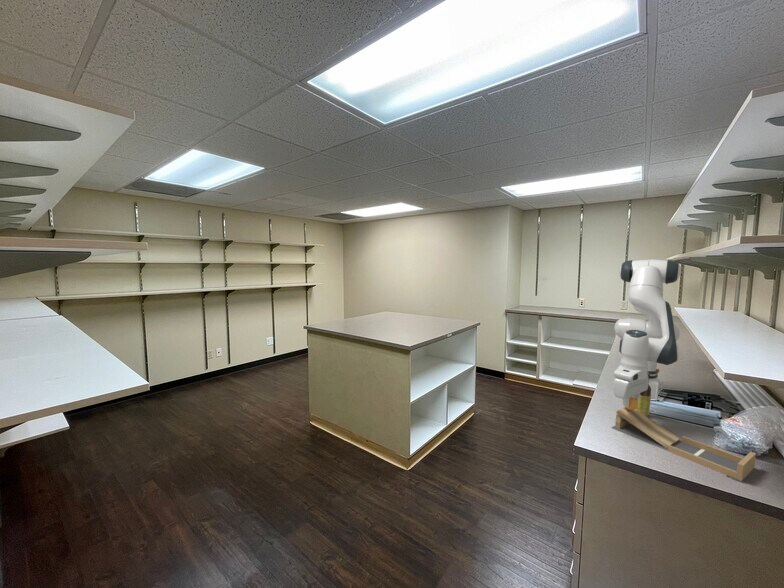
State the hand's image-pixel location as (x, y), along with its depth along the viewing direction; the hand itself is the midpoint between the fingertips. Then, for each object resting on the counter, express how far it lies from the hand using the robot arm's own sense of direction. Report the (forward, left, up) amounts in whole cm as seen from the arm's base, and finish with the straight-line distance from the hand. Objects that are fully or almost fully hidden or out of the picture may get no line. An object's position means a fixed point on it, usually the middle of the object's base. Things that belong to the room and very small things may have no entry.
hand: (630, 404), depth 129 cm
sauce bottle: (-17, -3, -10) cm, 20 cm away
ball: (0, 0, -2) cm, 2 cm away
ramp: (0, +6, -10) cm, 11 cm away
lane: (0, +15, -10) cm, 18 cm away
